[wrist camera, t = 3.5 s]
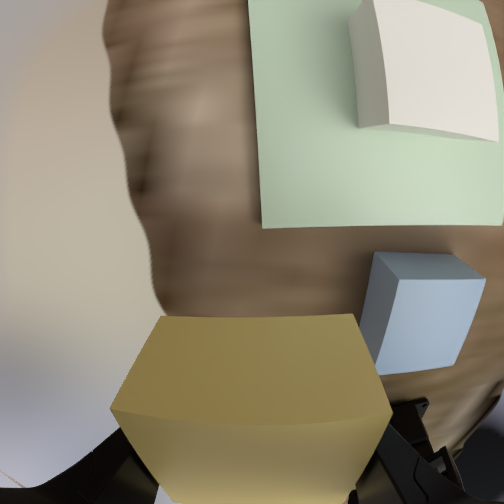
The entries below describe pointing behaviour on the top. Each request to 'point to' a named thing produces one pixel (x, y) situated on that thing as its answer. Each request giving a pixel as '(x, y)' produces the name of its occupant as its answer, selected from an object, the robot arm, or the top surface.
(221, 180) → the top surface
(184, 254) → the top surface
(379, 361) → the blue brick
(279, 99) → the plate
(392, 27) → the white brick
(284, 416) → the mustard brick
